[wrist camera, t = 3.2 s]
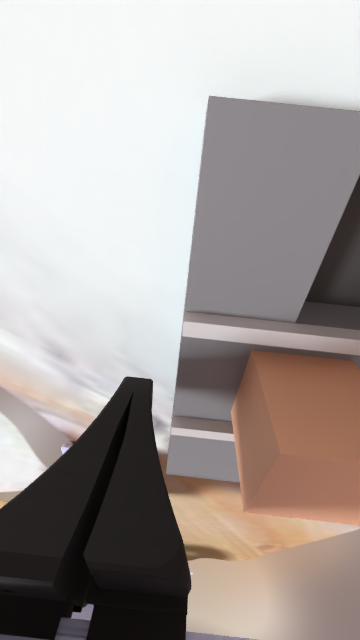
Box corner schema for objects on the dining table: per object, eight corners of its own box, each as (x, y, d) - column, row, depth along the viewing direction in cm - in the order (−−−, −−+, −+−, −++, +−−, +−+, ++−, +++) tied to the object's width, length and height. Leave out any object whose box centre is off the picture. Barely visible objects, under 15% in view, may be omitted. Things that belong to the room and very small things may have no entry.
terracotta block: (312, 421, 15) (358, 525, 10) (230, 411, 15) (243, 512, 10) (353, 360, 12) (437, 470, 8) (251, 349, 12) (280, 453, 8)
